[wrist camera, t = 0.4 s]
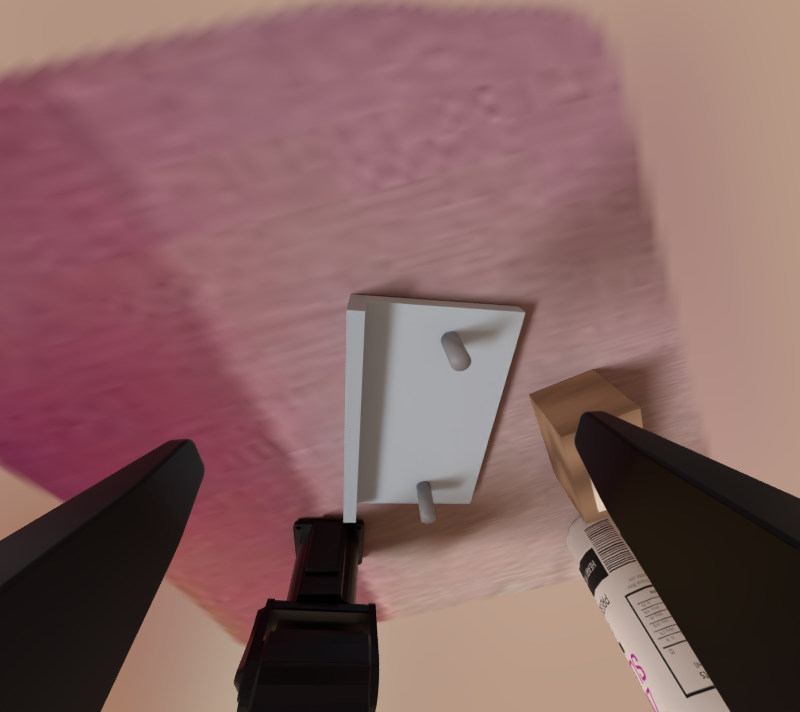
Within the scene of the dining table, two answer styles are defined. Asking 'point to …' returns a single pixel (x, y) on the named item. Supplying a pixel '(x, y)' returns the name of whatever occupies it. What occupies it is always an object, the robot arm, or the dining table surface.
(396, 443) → the ledge
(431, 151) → the dining table surface
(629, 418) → the brown wooden block
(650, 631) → the supplement can
